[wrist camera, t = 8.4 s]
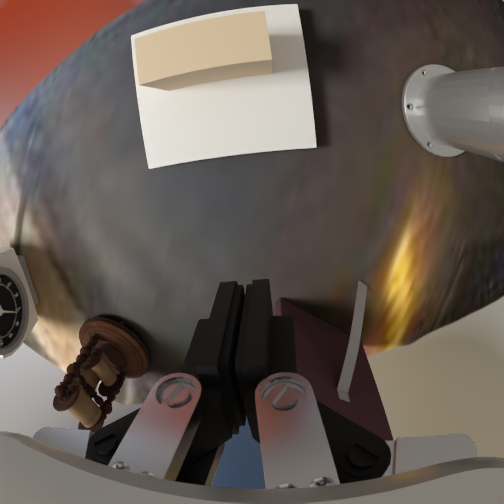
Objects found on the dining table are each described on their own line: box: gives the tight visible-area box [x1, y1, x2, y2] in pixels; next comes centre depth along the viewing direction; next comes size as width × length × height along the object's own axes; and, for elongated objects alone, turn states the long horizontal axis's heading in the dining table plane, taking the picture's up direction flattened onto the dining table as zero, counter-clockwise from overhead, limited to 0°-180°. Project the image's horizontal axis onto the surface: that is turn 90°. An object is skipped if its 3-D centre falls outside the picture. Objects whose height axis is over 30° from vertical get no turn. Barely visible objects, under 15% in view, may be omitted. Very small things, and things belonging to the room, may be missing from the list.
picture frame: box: [276, 280, 393, 441], centre depth 31 cm, size 17×10×25 cm, turn 58°
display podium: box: [131, 4, 317, 169], centre depth 29 cm, size 20×18×2 cm
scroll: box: [53, 317, 150, 433], centre depth 41 cm, size 15×15×20 cm
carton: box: [135, 11, 272, 91], centre depth 24 cm, size 12×8×5 cm
